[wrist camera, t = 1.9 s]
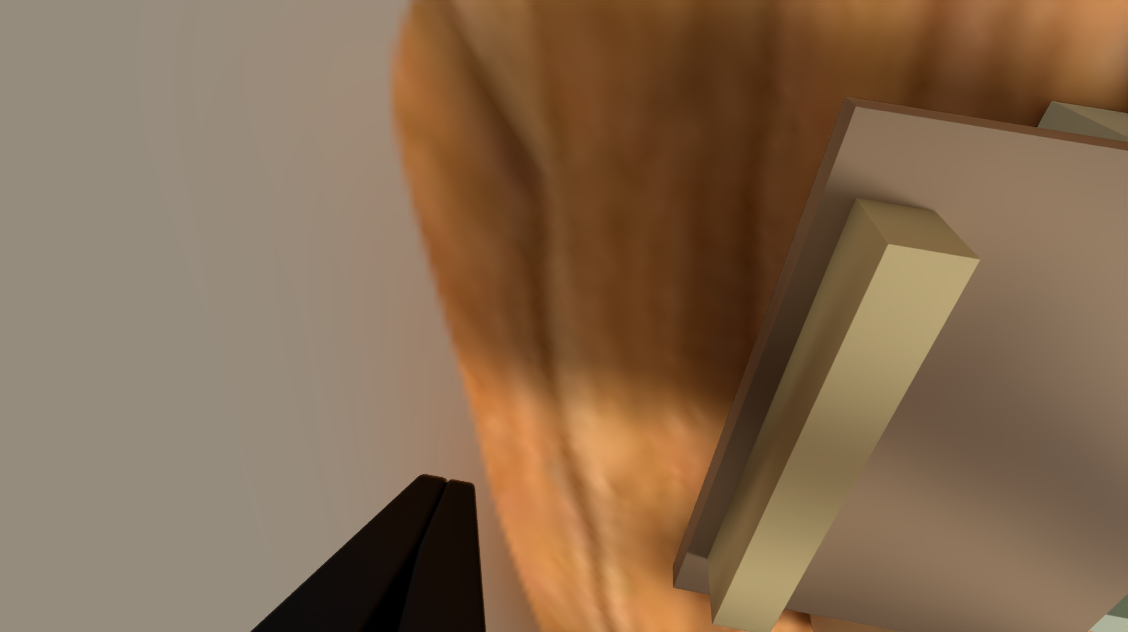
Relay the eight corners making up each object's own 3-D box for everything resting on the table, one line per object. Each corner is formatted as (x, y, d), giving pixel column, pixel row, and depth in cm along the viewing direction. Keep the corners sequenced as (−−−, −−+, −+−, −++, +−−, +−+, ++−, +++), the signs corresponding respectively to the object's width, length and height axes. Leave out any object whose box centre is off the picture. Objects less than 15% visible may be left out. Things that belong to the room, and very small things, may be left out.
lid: (1042, 636, 15) (1095, 734, 14) (672, 566, 16) (674, 652, 14) (1483, 199, 9) (1692, 272, 7) (845, 96, 9) (891, 140, 8)
